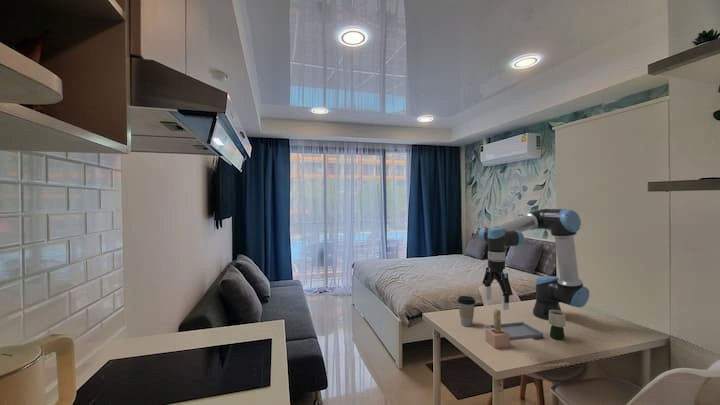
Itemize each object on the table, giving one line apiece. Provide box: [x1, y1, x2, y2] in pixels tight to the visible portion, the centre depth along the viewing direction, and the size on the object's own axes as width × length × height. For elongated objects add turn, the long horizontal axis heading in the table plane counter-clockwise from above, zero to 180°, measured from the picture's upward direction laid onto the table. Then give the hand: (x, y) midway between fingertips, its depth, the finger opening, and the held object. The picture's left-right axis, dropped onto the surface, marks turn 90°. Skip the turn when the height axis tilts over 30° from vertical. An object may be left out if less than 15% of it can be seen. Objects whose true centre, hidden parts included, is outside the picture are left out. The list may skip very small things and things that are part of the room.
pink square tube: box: [485, 328, 511, 350], centre depth 148 cm, size 8×8×7 cm
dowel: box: [493, 309, 502, 334], centre depth 148 cm, size 3×3×16 cm
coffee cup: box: [457, 295, 476, 328], centre depth 173 cm, size 9×9×15 cm
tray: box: [485, 321, 544, 341], centre depth 161 cm, size 22×15×2 cm
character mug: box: [548, 310, 567, 340], centre depth 155 cm, size 11×7×13 cm, turn 110°
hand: (496, 304), depth 148 cm, fingers open, 13 cm apart
